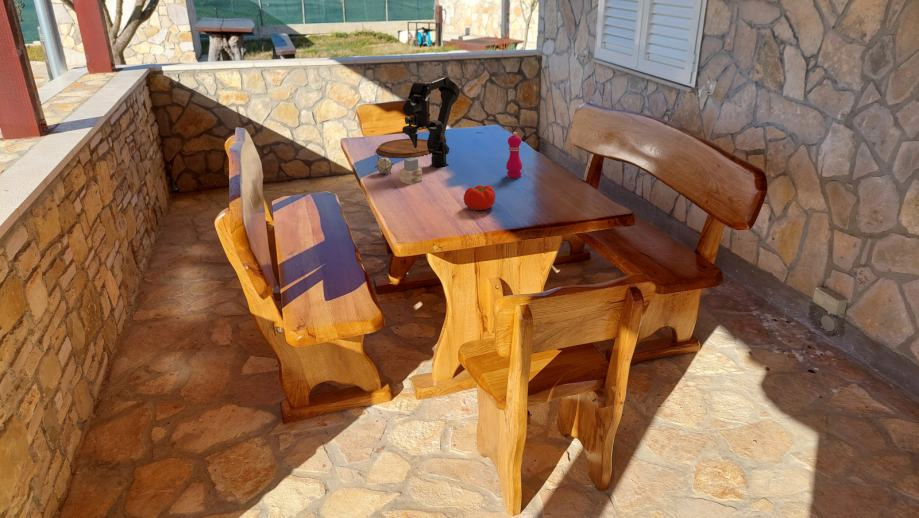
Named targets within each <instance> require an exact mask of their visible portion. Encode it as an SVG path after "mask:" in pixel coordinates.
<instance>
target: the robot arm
mask: <svg viewBox="0 0 919 518" xmlns="http://www.w3.org/2000/svg"><path fill="white" fill-rule="evenodd" d="M434 90H438V91H439V92H440V95H439V96H440V99H441V100H440V101H441V105H440V108H439V112H438V117H437V120H435V119H433V120H429V117H431V113H429V100H430V99H431V97H430V96H429V95H430V94H431V93H432V91H434ZM460 92H461V91H460V88H459V86H458V85H457V83H455V82H454V81H452V80H451V79H450V78H449V77H448V76H446V75H445V76H443V75H439V76H437V77H434V78H432V79H430V80H426V81H414V82H413V83H412V85H411V87H410V90H409V94H408V97H407V99H406V101H405V102H404V104H403V107H402V111H403V113H404V115H406V116H405V117H404V123H405V126H403V127H402V129H401V130H402V131H401V132H402V133H403V134H404V135H406V136H408V137H409V139H411V141H412V143H413V146H414V148H417V139H418V136H419V134H418V131H421V130H425V129H427V130H428V132H429V134H428V138H427V139H426V140H427V141H428V142H427V148H428V151H429V153H432V154H431V159H430V160H431V164H430V165H429V166H431V167H434V168H437V169H440V168H444V167H447V166H449V163H447V155H448V154H449V153H450V147H449V146H448V144H447V138H446V135H445V134H446V131H447V126H448V123H449V118H450V115H451V111H452V108H453V105H454V104H455V103H456V102H457V101H458V99H459V95H460ZM411 116H412V117H411Z"/></svg>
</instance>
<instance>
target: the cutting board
mask: <svg viewBox="0 0 919 518" xmlns="http://www.w3.org/2000/svg"><path fill="white" fill-rule="evenodd" d="M427 140H428V139H425V138H424V139H423V138H417V148H414V146H413V143H412V141H411V139H410V138H399V139H392V140H388V141H385V142H382V143H380V144H379V145H378V147H377V148H376V154H378V155H379V156H381V157H384V158H385V157H388V156H389V157H388V158H392V159H394V158H395V159H406V158H411V157H413V158H421V157H425V156H424V155H426V156H429V155H432V154H431V153H429V151H428V148H427V142H428V141H427ZM428 154H429V155H428ZM420 156H421V157H420Z"/></svg>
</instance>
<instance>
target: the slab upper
mask: <svg viewBox="0 0 919 518" xmlns="http://www.w3.org/2000/svg"><path fill="white" fill-rule="evenodd" d="M398 171H399V172H398V173H399V177H400V176H401V177H404V178H408V179H413V178H416V177H419V176H422V177H423V169H422V168H420V167H418V169H417V170H413V171H408V170H406V169H404V167H403V168H400V169H399V170H398Z"/></svg>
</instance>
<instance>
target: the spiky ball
mask: <svg viewBox="0 0 919 518" xmlns="http://www.w3.org/2000/svg"><path fill="white" fill-rule="evenodd" d="M376 158H377V161H376V166H374V168H376V169H377V171H378V172H379V176H382V175H383V174H392V172H391V171H392V168H393V165H395V163H393V162H392V161H391V159H390V157H389V156H388V157H385V156H384V157H379V156H377V157H376Z"/></svg>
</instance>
